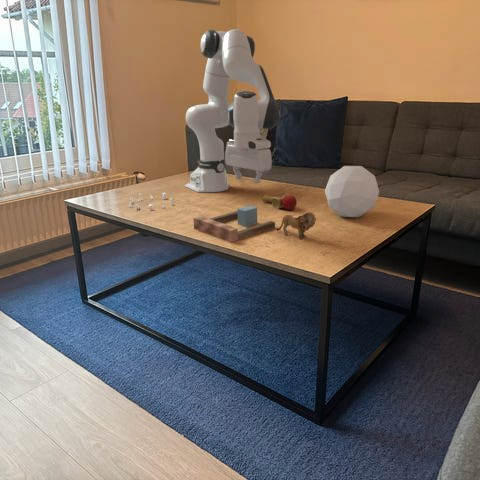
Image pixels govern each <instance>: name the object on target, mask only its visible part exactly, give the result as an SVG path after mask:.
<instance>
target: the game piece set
mask: <svg viewBox="0 0 480 480" xmlns="http://www.w3.org/2000/svg"><path fill="white" fill-rule="evenodd" d="M138 195H139V198H137V201H138V202H142V201H141V200H143V198H142V197H141V196H142V194H141V193H139V194H138ZM149 196H150V200H154V197H153V195H152V194H151V193H150V192H149ZM166 197H167V193H166V192H162V197H161V198H162V199H163V200H166ZM129 200H130V202H129V204H128V208H130V209H132V208H135V209H136V210H137V211H138V210H139V209H141V205H140V206H139V205H138V204H135V207H134V206H133V204H134V198H132V197H130V198H129ZM139 200H140V201H139ZM143 201H144V200H143ZM169 202H170V205H172V204H173V205H174V202H175V201H174V199H173V197H171V198H170V199H169ZM153 206H154V205H153V204H152V203H149V204H148V209H149V211H153V210H154V209H153ZM161 207H162V209H166V205H165V204H163V205H162V206H161Z"/></svg>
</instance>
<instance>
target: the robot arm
mask: <svg viewBox="0 0 480 480" xmlns="http://www.w3.org/2000/svg"><path fill="white" fill-rule="evenodd" d="M255 46H256V43H255V40H254V39H253V38H252V37H250V36H249V35H246V33H245V32H244V31H243V30H242V29H237V28H235V29H234V28H233V29H230V30H228V31H223V30H222V31H221V30H215V29H207V30H206V31H205V32H203V34H202V36H201V40H200V51H201V54H202V56H203V57H205V58H207V62H206V65H205V71H204V78H203V83H202V88H203V91H204V93H205V94H206V95H207V96H208V103H205V104H204V103H203V104H202V103H201V104H197V105H193V106H191V107H189V108H188V109H187V111H186V113H185V122H186V125H187V126H188V128H189V129H191V130H192V131H193V132H194V134H195V136H196V137H197V141H198V146H199V157H200V159H197V162H196V163H198V166H197V168H196V169H195V170H194V171H193V172H191V173H190V175H189V182H188V183H186V184H184V185H185V187H186V188H188V189H190V190H192V191H194V192H197V193H218V192H219V193H220V192H224V191H227V190H229V187H230V183H229V182H228V176H227V170H226V168H225V167H226V166H230V167H232V170H233V172H234V175H235V176H234V177H235V179H236V180H242V178H243V174H242V173H241V172H240V171H241V170H240V169H245V170H251V171H255V174H256V176H255V177H253V182H254V184H260V183H261V178H262V176H263V175H264V174H263V173H264V172H269V171H270V170H271V169H272V166H273V165H272V164H273V162H272V160H273V159H272V152H271V150H270V148H271V147H272V142H271V141H270V140H269V139H267V138H265V137H263V136H262V135H260V131H261V130H260V129H264V130H265V129H266V130H272V129H273V128H275V127H276V126H277V125H278V124H279V122H280V118H281V113H280V112H281V111H280V107H279V104H278V103H277V101H276V99H275V97H274V94H273V91H272V89H271V85H270V83H269V80H268V77H267V75H266V74H267V73H266V72H265V70H264V68H263V66H262V65H260V64H259V63H257V62H256V61H255V59H253V58H254V56H255V51H256V47H255ZM231 79H232V80H233V81H234V80H235V81H237V82H241V83H245V84H248V85H251V86H252V87H254V88H255V89H256V90H257V93H258V94H257V93H256V92H254V91H250V90H249V91H248V90H247V91H246V90H244V91H239V92H236V93H235V94H234V95H233V96H234V97H233V102H231V103H230V102H229V89H230V87H229V86H230V82H231ZM258 96H259V98H260V100H259V99H258ZM229 125H230V126H231V128H233V139H229V140H228V141H227V142H226V147H224V146H225V145H224V141H223V140H222V138H219V137H218V135H217V133H216V129H219V128H220V129H221V128H224V127H227V126H229Z"/></svg>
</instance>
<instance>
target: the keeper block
mask: <svg viewBox="0 0 480 480" xmlns="http://www.w3.org/2000/svg"><path fill="white" fill-rule="evenodd" d="M237 211H238V218H237V225H239V226H242V227H243V228H246V227H247V228H248V227H251V226H253V225H256V224H258V207H256V206H253V205H247V206H246V205H245V206H243V207H240V208H237Z"/></svg>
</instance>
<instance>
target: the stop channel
mask: <svg viewBox="0 0 480 480" xmlns="http://www.w3.org/2000/svg"><path fill="white" fill-rule="evenodd" d="M236 219H238V210H235V211H232V212H229V213H228V212H227V213H225V214H221V215H218V216H214V217H210V218H207V217H206V216H201V215H198V216H194V217H193V229H194V230H197V231H200V232H203V233H206V234H208V235H211V236H214V237H216V238H219V239H222V240H225V241H227V242H229V243H232V242H236V241H239V240H242V239H244V238H247V237H250V236H253V235H254V236H255V235H256V234H260V233H262V232H263V233H264V232H266V231H268V230H271V229H274V228H276V221H272V220H269V221H266V222H263V223H260V224H257V225H256V224H255V225H254V226H253V225H252V226H249V227H247V228H244V229H241V230H239V231H238V227H235V226H231V225H228V224H225V222H228V221H231V220H236Z"/></svg>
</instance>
